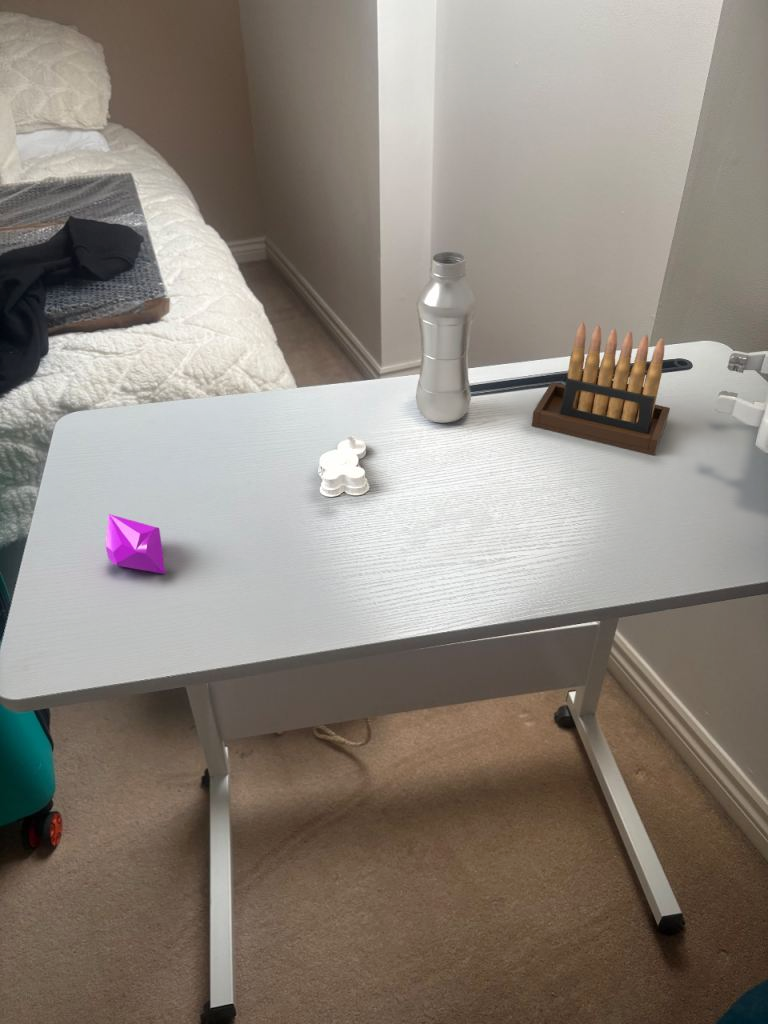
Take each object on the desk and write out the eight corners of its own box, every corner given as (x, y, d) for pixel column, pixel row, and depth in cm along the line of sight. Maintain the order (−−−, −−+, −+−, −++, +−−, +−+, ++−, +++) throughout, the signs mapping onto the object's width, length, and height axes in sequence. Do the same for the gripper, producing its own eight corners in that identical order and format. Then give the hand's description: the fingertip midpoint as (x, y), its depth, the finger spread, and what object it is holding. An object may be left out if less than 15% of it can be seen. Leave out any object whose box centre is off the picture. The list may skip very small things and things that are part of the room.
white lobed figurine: (397, 484, 91) (397, 468, 90) (327, 508, 88) (325, 492, 87) (358, 442, 98) (357, 426, 96) (291, 463, 95) (289, 447, 93)
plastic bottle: (471, 429, 99) (482, 270, 87) (415, 429, 100) (418, 270, 87) (468, 401, 104) (478, 246, 92) (414, 401, 105) (417, 246, 92)
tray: (666, 422, 100) (670, 407, 99) (654, 455, 95) (657, 440, 94) (549, 396, 105) (551, 381, 104) (531, 426, 100) (533, 411, 99)
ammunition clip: (651, 427, 98) (672, 335, 91) (648, 435, 97) (669, 343, 90) (563, 407, 102) (576, 317, 94) (559, 414, 101) (572, 324, 93)
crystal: (110, 581, 80) (99, 545, 77) (118, 544, 84) (108, 509, 81) (165, 577, 80) (156, 541, 77) (170, 540, 84) (162, 505, 81)
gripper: (875, 336, 91) (742, 313, 95) (872, 431, 76) (716, 398, 81) (855, 386, 95) (728, 362, 99) (849, 485, 80) (701, 451, 85)
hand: (723, 379), depth 90 cm, fingers open, 8 cm apart
